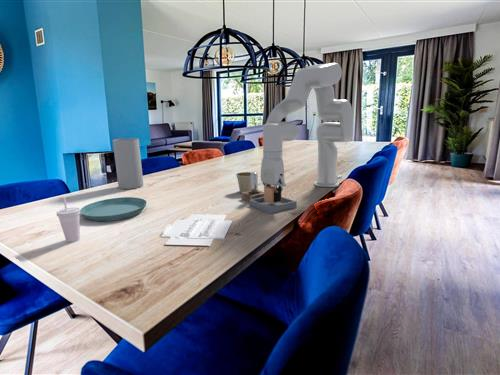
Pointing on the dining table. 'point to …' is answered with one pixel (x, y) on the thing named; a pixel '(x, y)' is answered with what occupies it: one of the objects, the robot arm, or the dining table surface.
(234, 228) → the dining table surface
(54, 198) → the dining table surface
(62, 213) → the smoothie
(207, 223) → the white flat piece
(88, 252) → the dining table surface
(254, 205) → the grey square tray
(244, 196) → the walnut bore block
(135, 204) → the teal plate
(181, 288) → the dining table surface
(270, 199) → the orange block with knob
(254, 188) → the steel pin
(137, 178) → the cylinder vase
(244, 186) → the flower pot
